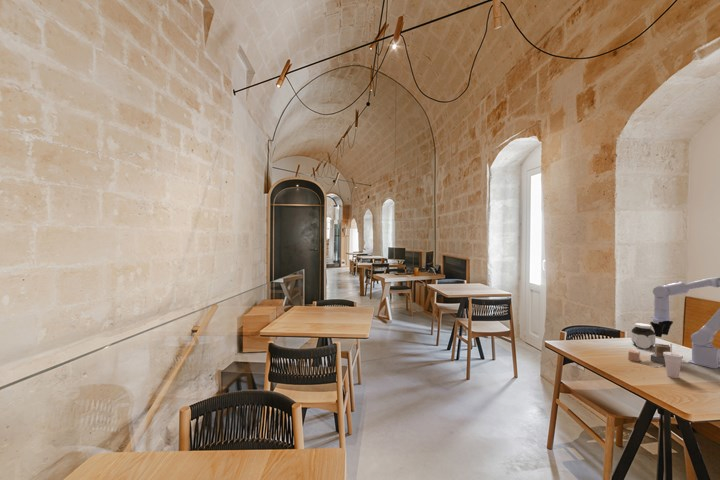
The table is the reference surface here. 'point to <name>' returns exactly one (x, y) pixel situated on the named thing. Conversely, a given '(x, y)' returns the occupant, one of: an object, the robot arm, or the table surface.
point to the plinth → (657, 359)
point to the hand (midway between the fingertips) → (661, 335)
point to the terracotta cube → (634, 355)
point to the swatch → (652, 363)
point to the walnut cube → (661, 349)
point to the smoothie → (672, 363)
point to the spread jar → (643, 335)
